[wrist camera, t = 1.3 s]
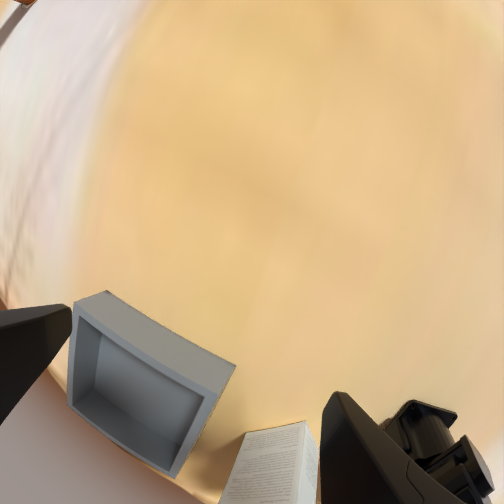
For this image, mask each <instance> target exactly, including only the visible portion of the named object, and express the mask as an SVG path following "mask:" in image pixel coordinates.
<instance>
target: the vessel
mask: <svg viewBox="0 0 504 504" xmlns="http://www.w3.org/2000/svg"><path fill="white" fill-rule="evenodd" d="M14 1H17V2H20V3H22V5H21V8H23V7H25V9H26V8H29V7H30V6H31V4H33V3H34V2H35V1H36V0H14Z"/></svg>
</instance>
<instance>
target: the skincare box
mask: <svg viewBox="0 0 504 504" xmlns="http://www.w3.org/2000/svg"><path fill="white" fill-rule="evenodd" d="M318 455H319V448H318V445H317V443H316V441H315V439H314V437H313V435H312V433H311V430H310V428H309V426H308V424H307V422H306V421H302V422H299V423H294V424H290V425H285V426H281V427H276V428H271V429H266V430H260V431H254V432H248V433H246V434H245V437H244V439H243V442H242V445H241V447H240V450H239V453H238V455H237V458H236V461H235V463H234V466H233V468H232V471H231V473H230V476H229V478H228V481H227V483H226V486H225V488H224V491H223V493H222V495H221V498H220V500H219V503H218V504H315V502H316V489H317V474H318Z"/></svg>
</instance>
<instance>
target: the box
mask: <svg viewBox="0 0 504 504" xmlns="http://www.w3.org/2000/svg"><path fill="white" fill-rule="evenodd" d="M72 326H73V328H72V333H71V335H70V341H69V355H68V374H67V406H69V407H70V408H71V409H72V410H73V411H75V412H76V413H77V414H78V415H79V416H80V417H82V418H83V419H84V420H85V421H87V422H88V423H89V424H90V425H92V426H93V427H94V428H96V429H97V430H98V431H99V432H101V433H102V434H103V435H105V436H106V437H107V438H109V439H110V440H112V441H113V442H114V443H116V444H117V445H119V446H120V447H122V448H123V449H125V450H126V451H128V452H129V453H131V454H132V455H134V456H135V457H137V458H139V459H140V460H142V461H143V462H145V463H147V464H148V465H150V466H152V467H154V468H155V469H157V470H159V471H161V472H162V473H164V474H166V475H168V476H170V477H172V478H173V479H175V477H176V476H177V474H178V473H179V471H180V469H181V468H182V466H183V465H184V463H185V461H186V460H187V458H188V456H189V455H190V453H191V451H192V450H193V448H194V446H195V444H196V442H197V440H198V438H199V437H200V435H201V433H202V431H203V429H204V427H205V425H206V423H207V422H208V420H209V418H210V416H211V414H212V412H213V410H214V408H215V406H216V404H217V402H218V400H219V399H220V397H221V395H222V393H223V391H224V389H225V387H226V385H227V383H228V381H229V379H230V377H231V375H232V373H233V371H234V369H235V367H236V365H234V364H232V363H230V362H228V361H226V360H224V359H222V358H220V357H218V356H216V355H214V354H212V353H211V352H209V351H207V350H205V349H203V348H201V347H199V346H197V345H196V344H194V343H192V342H190V341H188V340H186V339H185V338H183V337H181V336H179V335H178V334H176V333H174V332H172V331H171V330H169V329H167V328H166V327H164V326H162V325H160V324H159V323H157V322H155V321H154V320H152V319H151V318H149V317H147V316H146V315H144V314H142V313H141V312H139V311H138V310H136V309H135V308H133V307H131V306H130V305H128V304H127V303H125V302H124V301H122V300H121V299H119V298H118V297H116V296H115V295H113V294H112V293H110V292H109V291H107V290H106V291H103V292H101V293H98V294H95V295H92V296H90V297H87V298H84V299H81V300H78V301H76V302H74V306H73V314H72Z"/></svg>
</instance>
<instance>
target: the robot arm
mask: <svg viewBox="0 0 504 504" xmlns="http://www.w3.org/2000/svg"><path fill="white" fill-rule="evenodd" d="M72 328H73V326H72V310H71V308H70V307H68V306H66V305H64V304H53V305H45V306H37V307H28V308H19V309H10V310H1V311H0V425H1V424H2V423H3V421H4V420H5V418H6V417H7V416H8V415H9V413H10V412H11V411H12V409H13V408H14V407H15V405H16V404H17V403H18V402H19V401H20V399H21V398H22V397H23V395H24V394H25V393H26V392H27V391H28V389H29V388H30V387H31V386H32V384H33V383H34V382H35V381H36V380H37V378H38V377H39V376H40V375H41V373H42V372H43V371H44V370H45V369H46V368H47V367H48V365H49V364H50V363H51V362H52V360H53V359H54V357H55V356H56V354H57V353H58V352H59V350H60V349H61V347H62V346H63V344H64V343H65V342H66V340H67V339H68V337H69V336H70V335H71V333H72ZM413 404H414V405H413ZM412 405H413V406H412ZM452 417H453V418H452ZM457 417H458V416H457V414H456V413H455V412H452V411H449V410H446V409H442V408H439V407H436V406H433V405H430V404H426V403H423V402H420V401H417V400H411V401H409V402H408V403H407V405H406V406H405V407H404V408H403V410H402V411H401V412H400V413H399V415H398V416H397V417H396V418H395V419H394V420H393V421H392V423H391V424H390V425H389V426H388V427H387V428H386V430H385V431H383V430H382V429H381V428H380V427H379V426H378V425H377V424H376V423H375V422H374V421H373V420H372V418H371V417H370V416H369V415H368V414H367V413H366V412H365V411H364V410H363V409H362V408H361V407H360V406H359V405H358V404H357V403H356V402H355V401H354V400H353V399H352V398H351V397H350V396H349V395H348V394H347V393H345V392H339V391H335V392H334V393H333V394H332V395H331V397H330V399H329V401H328V403H327V404H326V406H325V408H324V410H323V413H322V427H321V441H320V478H321V504H492V503H491V501H490V498H489V496H488V495H489V494H490V493H491V492H493V491H494V490H495V489H494V485H493V481H492V478H491V474H490V471H489V469H488V467H487V465H486V463H485V461H484V460H483V458H482V456H481V454H480V453H479V451H478V450H477V449H476V447H475V446H474V445H473V444H472V442H471V441H470V440H469V438H468V437H467V436H466V434H465V435H464V436H463V437H461V438H460V440H459V441H458V442H456V443H455V442H454V440H453V437H452V435H451V433H450V431H449V428H450V426H451V425H452V424H453V423H454V422H455V420H456V419H457Z"/></svg>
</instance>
